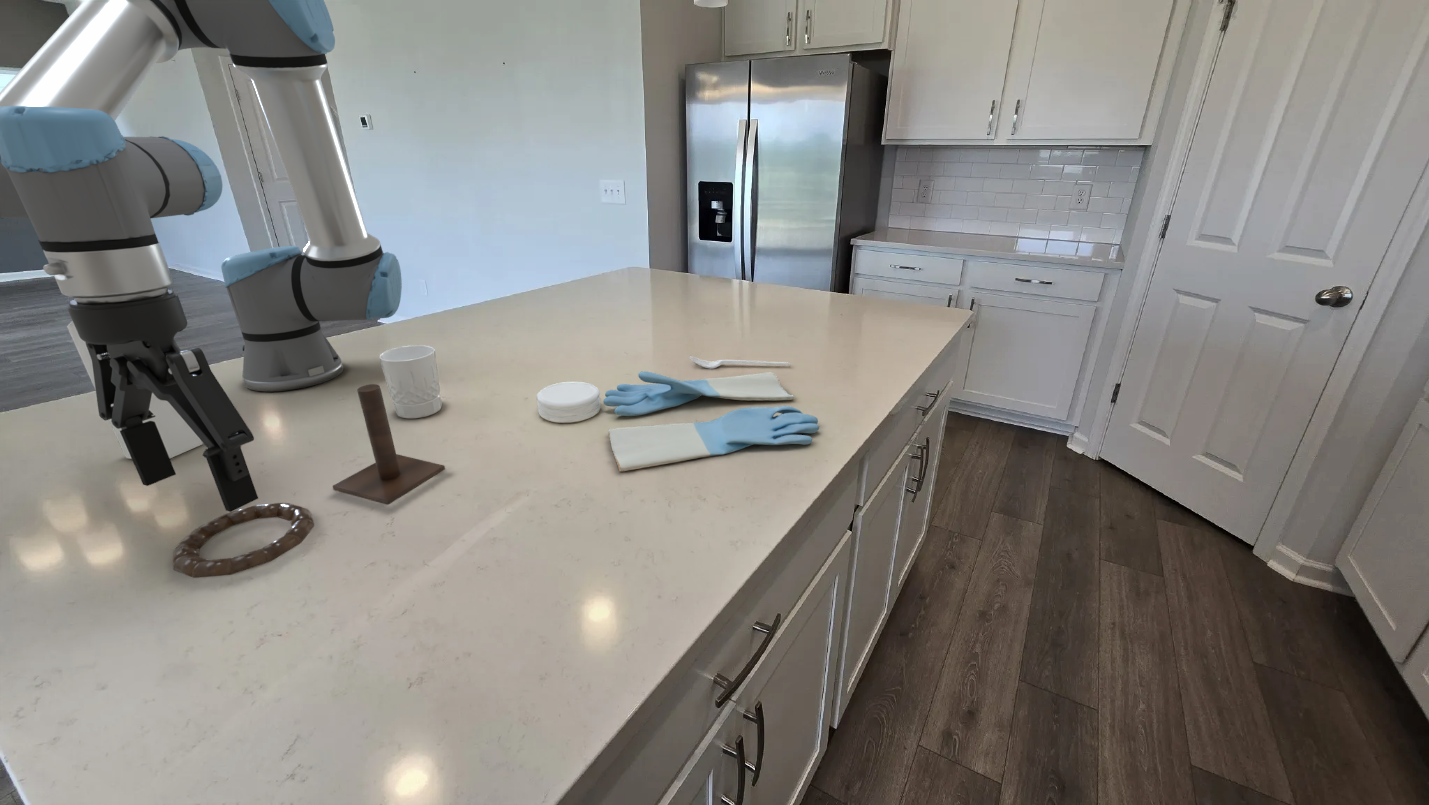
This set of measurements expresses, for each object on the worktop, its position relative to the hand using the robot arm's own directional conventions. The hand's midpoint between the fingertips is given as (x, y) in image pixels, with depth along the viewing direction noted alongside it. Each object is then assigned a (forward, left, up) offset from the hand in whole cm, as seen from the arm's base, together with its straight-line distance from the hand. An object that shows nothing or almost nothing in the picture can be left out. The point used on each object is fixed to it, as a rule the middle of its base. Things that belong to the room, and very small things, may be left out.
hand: (199, 491), depth 62 cm
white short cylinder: (+17, +43, -6) cm, 47 cm away
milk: (-28, +10, -6) cm, 31 cm away
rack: (+9, +15, -6) cm, 19 cm away
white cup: (-6, +34, -6) cm, 35 cm away
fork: (+36, +74, -6) cm, 83 cm away
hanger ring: (+5, 0, -5) cm, 7 cm away
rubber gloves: (+39, +49, -6) cm, 63 cm away
